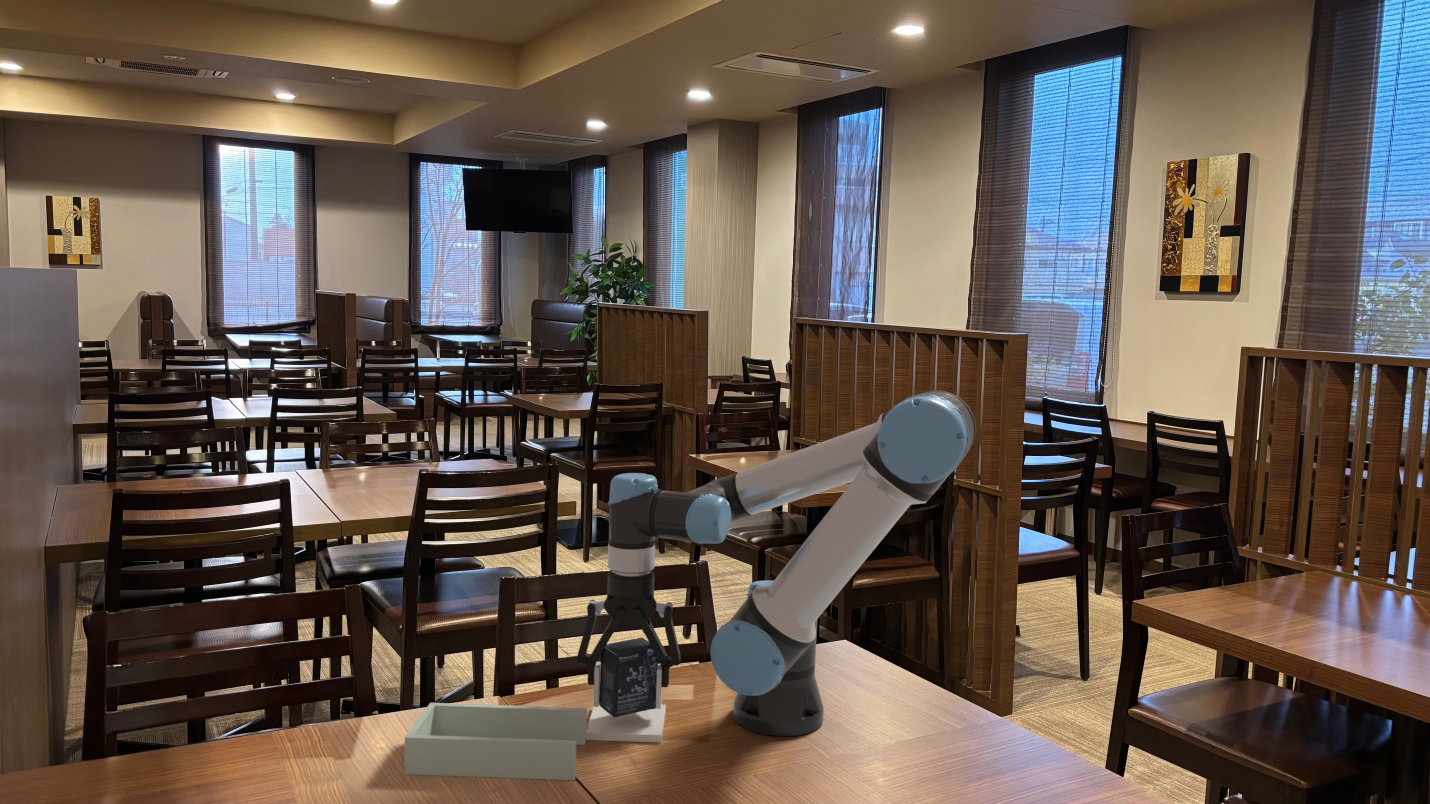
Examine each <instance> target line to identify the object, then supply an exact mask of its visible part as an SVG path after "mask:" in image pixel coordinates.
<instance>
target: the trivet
mask: <svg viewBox="0 0 1430 804" xmlns="http://www.w3.org/2000/svg"><path fill="white" fill-rule="evenodd" d="M666 709H667V704H663V703H661V709H650V710H646V711H641V712H636V713H632V714H628V715H623V716H619V717H616V718H614V717H613V716H611V715H610V714H609V713H607V712H606V711H605V710H604V709H603V708H601V707H600V705H599V706H598V707H594V706H593V708H592V710H591V714H590V716H589V720H588V722H587V732H586V741H605V742H606V741H610V742H612V741H613V742H635V743H636V742H637V743H638V742H639V743H659V744H660V743H661V744H662V742H663V733H664V726H665V719H666Z"/></svg>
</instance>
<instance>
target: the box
mask: <svg viewBox="0 0 1430 804" xmlns="http://www.w3.org/2000/svg"><path fill="white" fill-rule="evenodd" d="M600 662H601V669H600V702H599V705H600V707H601V708H603V709H604V710H605V711H606V712H607V713H609V714H610V715H611V716H613V717H614V718H616V717H619V716H623V715H628V714H632V713H636V712H641V711H646V710H650V709H656V687H657V667H658V664H659V663H658V662H659V661H658V659H657V657H656V655H655V653H654V651H653V649H652V647H651V645H650V643H649V641H648V639H646V638H643V637H637V638H632V639H627V640H621V641H617V642H616V641H615V642H612V643H607V644H606V646H605V648H604V650H603V651H602V653H601V655H600Z"/></svg>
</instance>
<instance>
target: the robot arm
mask: <svg viewBox="0 0 1430 804" xmlns="http://www.w3.org/2000/svg"><path fill="white" fill-rule="evenodd" d="M976 433H977V424H976V419H975V416H974V413H973V411H972V410H971V408H970V406H969V405H968V404H967V403H966V402H965V401H964V400H963V399H962V398H961V397H959V396H958V395H956V394H954V393H951V392H948V391H945V390H935V389H934V390H928V391H924V392H921V393H919V394H916V395H912V396H908V397H907V398H905V399H903V400H900V402H898V403H897V404H896V405H893V407H892V408H890V410H889V411H885V412H884V413H881V414H880V415H879V417H878V419H877V421H876V422H874V423H872V424H868V425H866V426H863V427H861V428H858V429H855V430H853V431H849V432H847V433H845V434H844V433H843V434H841V435H838V436H835V437H833V438H830V439H827V440H824V441H821V442H818V443H816V444H813V445H810V446H808V447H805V448H802V449H799V450H796V451H793V452H790V453H789V454H785V455H782V456H780V457H777V458H774V459H772V460H769V461H766V462H763V463H761V464H757V465H755V466H752V467H750V468H746V469H744V470H741V471H738V472H735V473H733V474H729V475H727V476H724V477H723V476H722V477H718V478H716V479H713V480H711V481H709V482H708V483H706V484H704V485H700V486H699V487H697V488H695V489H692V490H689V491H685V492H684V491H675V490H674V491H672V490H664V489H659V488H658V487H659V486H658V480H657V478H656V476H654V475H652V474H647V473H641V472H628V473H627V472H626V473H621V474H617V475H615V476H614V477H613V478H611V481H610V487H609V489H610V490H609V499H608V503H607V505H608V506H609V507H608V509H609V510H608V543H607V553H608V554H607V568H608V569H610V570H609V571H608V572H607V587H606V588H607V591H606V598H605V600H604V601H603V600H602V601H596V600H595V599H590V601H589V602H588V605H586V611H587V620H586V624H585V626H584V630H583V635H582V638H581V641H580V645H579V648H578V651H577V652H578V653H577V656H576V661H577V663H583V664H585V665H586V666H587V684H588V685H589V686H593V707H598V706H599V702H600V669H601V661H598V660H599V658H601V653H602V651H603V650H604V648H605V646H606V644H609V643H608V642H609V641H610V639H611V637H612V635H613V634H614V633H615V631H616V629H617V628H618V627H619V628H620V629H625V628H632V629H640V628H641V630H642V633H643V634H644V635H645V637H646V640H647V641H649V643H650V645H651V647H652V649H653V651H654V653H655V655H656V657H657V659H658V662H659V663H658V667H657V687H656V709H661V704H662V700H663V698H662V693H663V688H668V687H669V684H670V669H671V668H672V667H674V666H676V667H678V666H680V664H681V659H682V658H681V657H682V656H681V651H680V646H679V643H678V639H677V634H676V631H675V625H674V621H673V616H672V615H673V608H674V607H673V606H674V604H673V603H672V602H670V601H669V602H666V603H661V602H657V600H656V599H655V572H654V571H653V570H654V569H655V563H656V562H655V561H656V559H655V558H656V538H659V539H667V540H669V539H670V540H675V541H682V542H689V543H696V544H698V545H705V544H714V545H715V544H716V545H718V544H721V543H723V542H724V541H725V539H726V538H727V535H728V534H729V531H730V528H731V523H733V522H736V521H737V522H738V521H739V520H742V519H745V518H749V517H751V516H754V515H757V514H759V513H762V512H765V511H768V510H771V509H774V508H777V507H780V506H782V505H783V506H784V505H786V504H789V503H792V502H795V501H798V500H800V499H804V498H807V497H810V496H813V495H816V494H819V493H822V492H825V491H827V490H828V491H829V490H831V489H834V488H837V487H840V486H843V485H845V484H849V483H850V484H849V485H848V486H847V487H846V489H845V490H844V492H843V493H842V494H841V495H840V497H838V499H837V500H836V502H834V504H833V505H832V507H831V508H830V509H829V510H828V512H827V513H826V514H825V515H824V516H823V517H822V519H821V521H819V523H818V524H817V525H816V527H815V528H814V530H813V531H812V532H811V533H810V534H809V536H808V537H807V538H806V539H805V541H804V542H803V543H802V545H801V546H800V547H799V549H798V550H797V551H796V552H795V553H794V555H793V556H792V557H791V558H790V560H789V561H788V562H787V564H786V565H785V566H784V567H783V569H782V570H781V571H780V573H778V575H777V576H776V578H775V579H774V580H771V579H770V580H767V579H766V580H757V581H754V582H752V583H750V584H749V586H748V593H746V596H747V598H746V600H745V601H744V602H743V603H742V604H741V606H740V607H739V609H737V611H736V612H735V613H734V615H733V616H732V617H731V618H730V619H729V621H727V622H725V623H724V624H722V625H721V626H720V627H719V628H718V630H717V631H716V633H715V635H714V637H713V638H712V641H711V645H710V650H709V651H710V654H709V655H710V658H711V665H712V668H713V670H714V672H715V674H716V676H717V677H718V679H719V680H720V682H722V683H723V684H724V685H725V686H726V687H727V688H728V689H730V690H732V691H733V692H735V693H736V695H735V698H734V701H733V711H732V712H733V719H734V720H735V722H736V723H737V724H738V725H739V726H740V727H743V728H744V729H747V731H751V732H754V733H758V734H762V735H767V736H775V737H793V736H801V735H806V734H810V733H812V732H815V731H816V730H817V729H819V728H820V727H821V726H822V724H823V723H824V710H825V709H824V704H823V700H822V696H821V693H820V689H819V686H818V682H817V679H816V671H815V670H816V658H817V657H816V654H817V651H816V650H817V636H818V635H817V634H818V633H817V630H818V619H819V618H820V616H821V615H822V614H823V613H824V611H825V610H826V609H827V608H828V607H829V605H831V603H832V602H833V600H835V598H836V597H837V596H838V595H839V593H840V592H841V591H842V590H843V588H844V587H845V586H846V584H847V583H848V582H849V581H850V580H851V578H853V576H854V574H856V573H857V571H858V570H859V568H860V567H861V566H862V565H863V564H864V562H865V561H866V560H867V558H869V556H870V555H871V554H872V553H873V551H874V550H875V549H876V548H877V547H878V545H879V544H880V543H881V541H883V539H884V538H885V537H886V536H887V534H888V533H889V532H890V531H891V530H892V528H893V527H894V526H895V524H896V523H897V522H898V521H899V520H900V518H901V517H902V516H903V515H904V514H905V512H906V511H907V510H908V509H909V507H910V506H912V505H920V504H926V503H927V502H928V501H929V500H930V499H931V498H932V496H933V495H934V494H935V493H936V492H937V490H938V489H939V488H940V487H941V486H942V484H943V483H944V482H945V481H946V479H947V478H948V477H949V476H950V475H951V474H952V473H953V472H954V471H955V470H956V469H957V468H958V467H959V466H960V465H961V463H962V461H963V460H964V457H966V455H967V454H968V453H969V452H970V450H971V449H972V447H973V445H974V443H975V440H976ZM602 610H605V611H606V613H607V614H608V616H609V617H610V621H609V622H608V624H607V626H606V628H605V630H603V633H602V635H601V636H600V638H599V639H598V641H597V643H596V645H595V647H594V648H593V650H592V652H591V654H590V653H588V649H589V645H590V643H591V642H590V641H591V637H592V635H593V631H594V628H595V624H596V621H597V617H598V616H600V614H601V612H602ZM656 611H657V613H658V615H659V617H660V618H662V619H663V626H664V630H665V631H664V632H665V635H666V639H667V644H668V647H669V648H668V649H669V652H670V655H668V653H667V652H666V649H665V647H664V646H663V644H662V642H661V640H660V638H659V636H658V634H657V632H656V630H655V628H654V626H653V623H652V621H651V616H653V614H654V613H655V612H656Z"/></svg>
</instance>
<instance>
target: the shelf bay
mask: <svg viewBox="0 0 1430 804" xmlns="http://www.w3.org/2000/svg"><path fill="white" fill-rule="evenodd" d="M587 720H588V708H587V707H564V706H562V707H561V706H537V705H535V706H533V705H531V706H530V705H510V704H509V705H506V704H505V705H504V704H479V703H475V704H473V703H451V702H449V703H448V702H430V703H429V704H428V705H427V706H426V708H425V709H424V711H422V714H421V715H420V716H419V718H418V719H417V720H416V721H415V723H414V724H413V726H412V727H411V728H410V729H409V731H408V733H406V735H405V737H404V775H413V776H415V775H417V776H423V775H424V776H442V777H443V776H444V777H445V776H446V777H471V778H473V777H474V778H477V777H478V778H497V779H498V778H501V779H502V778H503V779H526V780H528V779H532V780H559V781H575V780H576V775H577V774H576V772H577V771H576V769H577V768H576V767H577V745H580V746H586V744H587V740H586V732H587V726H588V721H587Z"/></svg>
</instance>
